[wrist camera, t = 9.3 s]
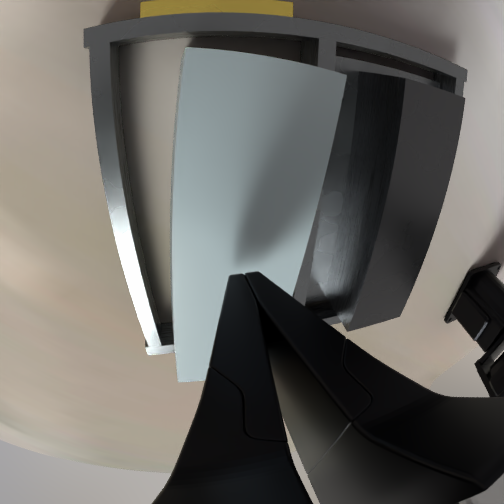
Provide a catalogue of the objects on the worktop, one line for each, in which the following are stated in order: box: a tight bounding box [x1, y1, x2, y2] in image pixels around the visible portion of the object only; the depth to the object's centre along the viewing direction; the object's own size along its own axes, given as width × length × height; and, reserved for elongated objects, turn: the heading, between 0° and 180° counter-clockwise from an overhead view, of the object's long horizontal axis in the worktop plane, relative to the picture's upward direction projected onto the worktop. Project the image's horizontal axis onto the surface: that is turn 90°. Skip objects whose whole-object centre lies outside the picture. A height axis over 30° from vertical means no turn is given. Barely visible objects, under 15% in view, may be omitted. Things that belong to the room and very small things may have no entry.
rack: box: [84, 0, 467, 355], centre depth 12 cm, size 16×16×4 cm
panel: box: [170, 47, 347, 382], centre depth 11 cm, size 4×12×5 cm, turn 170°
